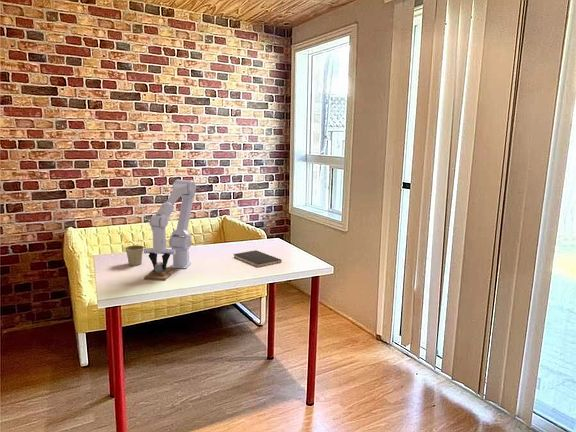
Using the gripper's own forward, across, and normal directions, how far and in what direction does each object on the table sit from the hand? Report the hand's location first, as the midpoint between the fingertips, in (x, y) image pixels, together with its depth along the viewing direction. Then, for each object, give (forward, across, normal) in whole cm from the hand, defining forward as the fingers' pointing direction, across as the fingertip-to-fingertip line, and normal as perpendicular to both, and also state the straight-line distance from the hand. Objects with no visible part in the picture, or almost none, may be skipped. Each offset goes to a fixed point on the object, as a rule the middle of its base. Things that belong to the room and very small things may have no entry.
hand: (160, 268), depth 195 cm
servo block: (+2, 0, 0) cm, 2 cm away
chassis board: (+3, 0, 0) cm, 3 cm away
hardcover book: (+4, +42, +33) cm, 53 cm away
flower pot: (+3, -19, +16) cm, 25 cm away
